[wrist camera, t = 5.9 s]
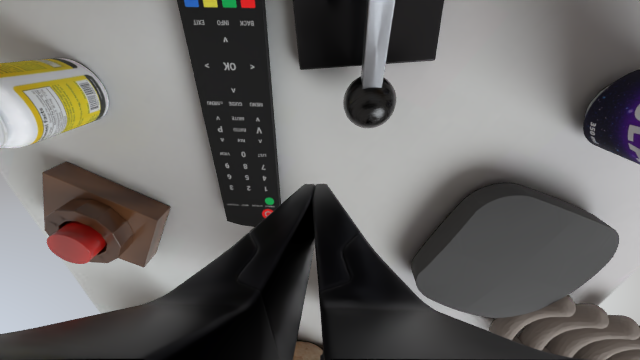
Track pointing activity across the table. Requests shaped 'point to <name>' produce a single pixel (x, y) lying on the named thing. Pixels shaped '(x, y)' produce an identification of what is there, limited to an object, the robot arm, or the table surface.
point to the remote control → (236, 101)
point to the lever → (373, 70)
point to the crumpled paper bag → (307, 351)
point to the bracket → (348, 32)
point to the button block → (104, 213)
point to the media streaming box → (511, 252)
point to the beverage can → (616, 118)
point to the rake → (574, 331)
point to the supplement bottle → (47, 99)
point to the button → (76, 243)
